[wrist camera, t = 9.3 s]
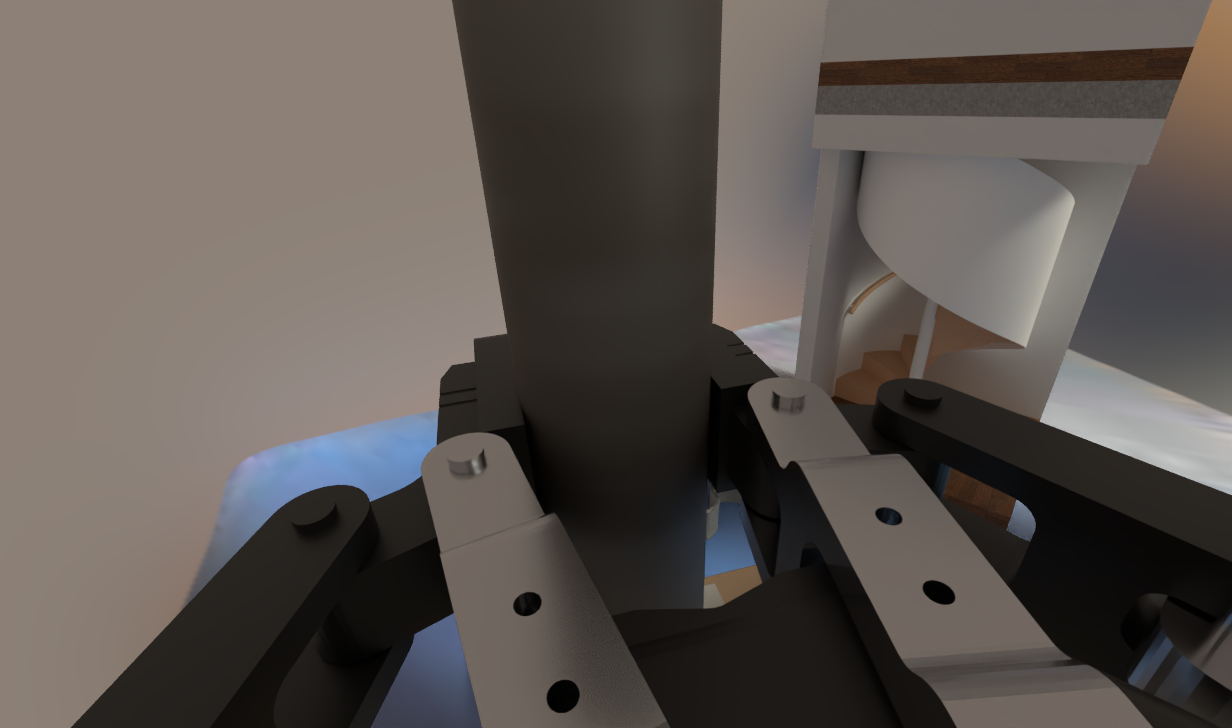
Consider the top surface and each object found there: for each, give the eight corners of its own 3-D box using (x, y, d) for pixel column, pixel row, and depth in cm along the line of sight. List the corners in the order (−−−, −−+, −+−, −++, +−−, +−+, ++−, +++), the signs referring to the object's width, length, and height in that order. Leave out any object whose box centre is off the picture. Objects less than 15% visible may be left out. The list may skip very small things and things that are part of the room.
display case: (777, 461, 34) (877, -465, 17) (843, 385, 40) (961, -322, 24) (998, 549, 27) (1539, -842, 10) (1031, 440, 34) (1383, -487, 17)
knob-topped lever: (559, 727, 18) (323, -535, 6) (787, 662, 19) (956, -454, 8) (591, 936, 14) (-8, -2009, 2) (879, 831, 15) (1616, -1147, 3)
